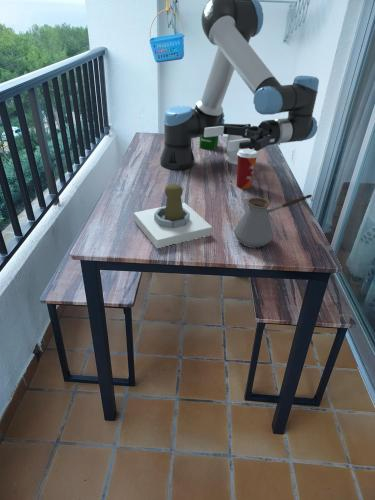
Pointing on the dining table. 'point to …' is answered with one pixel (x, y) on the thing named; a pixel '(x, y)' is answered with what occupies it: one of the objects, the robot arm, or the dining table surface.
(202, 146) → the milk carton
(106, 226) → the dining table surface
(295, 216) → the dining table surface
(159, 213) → the base plate
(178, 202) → the cork
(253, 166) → the paper cup
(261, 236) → the coffee pot
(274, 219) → the dining table surface
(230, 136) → the jar
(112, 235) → the dining table surface
